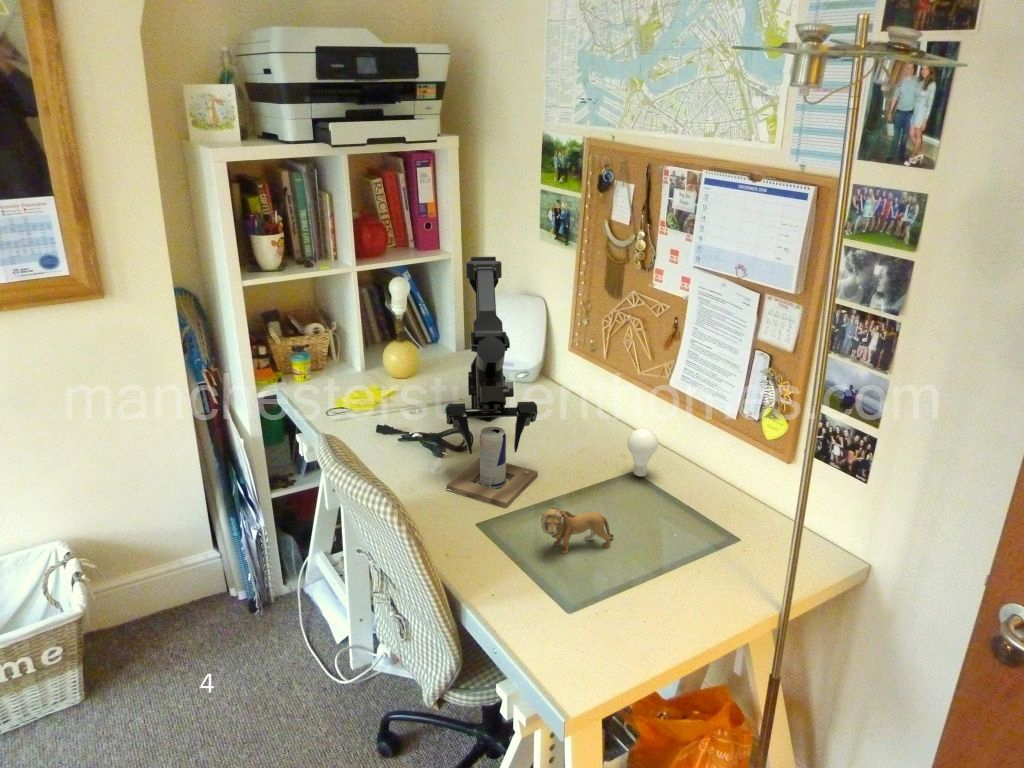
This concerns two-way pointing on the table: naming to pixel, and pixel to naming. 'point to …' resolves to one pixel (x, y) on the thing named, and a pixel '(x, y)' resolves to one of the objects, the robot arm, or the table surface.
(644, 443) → the lightbulb
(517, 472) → the pocket plate
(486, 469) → the energy drink
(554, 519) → the lion figurine
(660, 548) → the table surface
